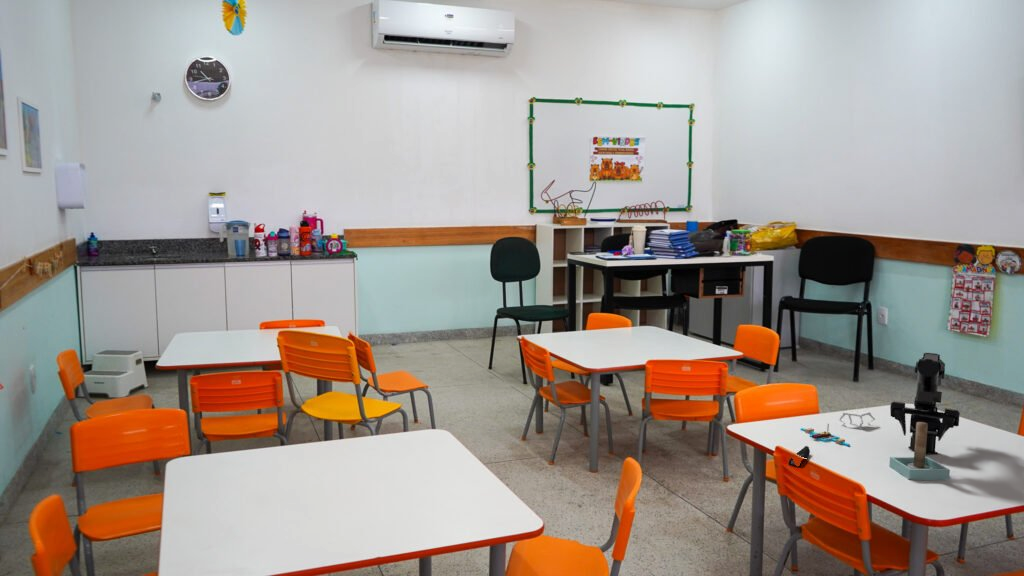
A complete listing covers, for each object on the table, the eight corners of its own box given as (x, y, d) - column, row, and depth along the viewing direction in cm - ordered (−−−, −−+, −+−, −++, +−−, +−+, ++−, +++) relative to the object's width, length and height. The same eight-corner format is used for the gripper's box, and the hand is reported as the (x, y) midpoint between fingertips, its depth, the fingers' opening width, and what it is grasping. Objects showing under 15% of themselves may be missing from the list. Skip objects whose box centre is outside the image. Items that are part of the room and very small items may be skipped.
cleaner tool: (913, 465, 231) (916, 419, 229) (933, 471, 226) (937, 424, 225) (903, 469, 227) (907, 422, 226) (924, 475, 223) (927, 427, 221)
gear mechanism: (837, 449, 249) (856, 446, 253) (838, 434, 248) (857, 430, 252) (790, 433, 266) (809, 429, 271) (791, 418, 266) (810, 415, 270)
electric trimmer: (812, 456, 243) (813, 446, 242) (799, 468, 230) (800, 458, 230) (801, 453, 245) (801, 444, 244) (787, 466, 232) (787, 456, 232)
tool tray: (927, 466, 233) (927, 457, 232) (948, 479, 222) (949, 469, 221) (889, 466, 232) (890, 457, 232) (909, 479, 221) (910, 469, 221)
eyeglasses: (855, 431, 268) (856, 417, 268) (837, 424, 276) (838, 411, 276) (880, 427, 273) (881, 414, 272) (862, 421, 281) (863, 408, 280)
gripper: (893, 376, 236) (886, 419, 228) (962, 384, 226) (958, 429, 218) (893, 394, 243) (887, 437, 235) (960, 403, 233) (956, 448, 226)
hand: (921, 437), depth 228 cm, fingers open, 9 cm apart
